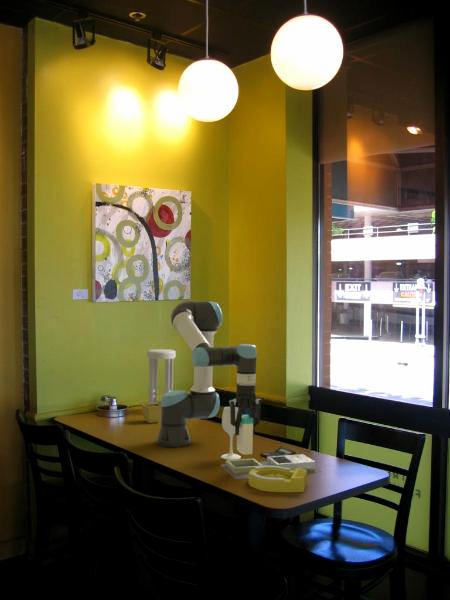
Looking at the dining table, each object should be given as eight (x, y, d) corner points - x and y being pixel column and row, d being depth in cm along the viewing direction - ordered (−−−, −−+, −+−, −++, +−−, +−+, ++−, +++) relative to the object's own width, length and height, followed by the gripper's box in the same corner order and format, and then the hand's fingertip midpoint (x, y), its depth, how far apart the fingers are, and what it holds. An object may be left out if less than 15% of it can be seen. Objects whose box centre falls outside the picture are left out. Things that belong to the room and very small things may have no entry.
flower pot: (141, 421, 328) (141, 404, 328) (156, 419, 332) (157, 402, 332) (147, 424, 321) (147, 407, 320) (163, 423, 325) (163, 405, 325)
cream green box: (242, 454, 242) (243, 418, 241) (236, 449, 249) (237, 414, 248) (252, 454, 243) (253, 418, 243) (246, 449, 250) (247, 414, 249)
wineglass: (244, 456, 265) (244, 407, 264) (237, 461, 256) (238, 410, 256) (224, 454, 267) (225, 405, 267) (217, 459, 259) (218, 409, 259)
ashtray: (301, 495, 217) (302, 481, 216) (243, 488, 222) (244, 474, 222) (308, 480, 232) (308, 467, 232) (254, 474, 238) (254, 461, 238)
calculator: (260, 455, 265) (260, 448, 265) (280, 453, 272) (281, 446, 272) (274, 460, 257) (275, 453, 257) (295, 458, 264) (296, 451, 264)
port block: (277, 473, 240) (277, 463, 240) (266, 465, 250) (266, 456, 250) (315, 470, 245) (315, 460, 245) (303, 462, 255) (303, 453, 255)
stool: (176, 410, 358) (177, 349, 357) (170, 415, 343) (171, 352, 342) (150, 409, 360) (151, 348, 359) (143, 414, 345) (144, 351, 344)
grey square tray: (234, 473, 239) (234, 468, 239) (225, 465, 249) (225, 460, 249) (263, 471, 242) (263, 466, 242) (253, 463, 253) (254, 458, 253)
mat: (235, 480, 232) (235, 479, 232) (219, 465, 250) (219, 464, 250) (322, 472, 243) (322, 471, 243) (301, 459, 261) (301, 458, 261)
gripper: (228, 386, 239) (227, 446, 240) (269, 384, 244) (268, 444, 245) (222, 382, 246) (221, 441, 247) (262, 381, 251) (261, 439, 252)
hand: (244, 442), depth 246 cm, fingers closed on cream green box, 4 cm apart
